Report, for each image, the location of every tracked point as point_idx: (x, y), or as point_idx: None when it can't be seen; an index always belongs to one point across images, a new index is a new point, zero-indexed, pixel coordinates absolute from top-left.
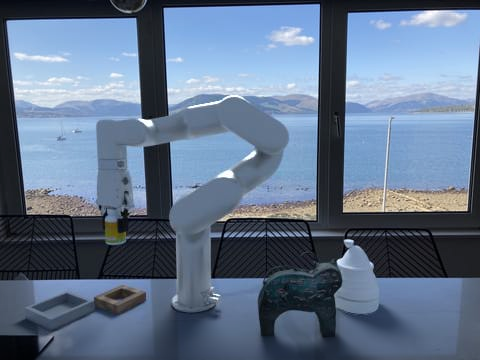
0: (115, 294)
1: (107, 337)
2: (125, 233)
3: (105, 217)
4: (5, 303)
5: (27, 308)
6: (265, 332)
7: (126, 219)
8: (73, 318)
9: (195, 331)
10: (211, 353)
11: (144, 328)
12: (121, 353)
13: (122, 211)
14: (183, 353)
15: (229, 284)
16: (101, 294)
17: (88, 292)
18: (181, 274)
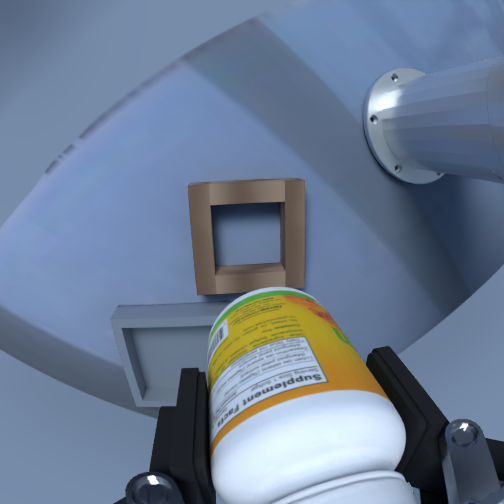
0: (212, 229)
1: (350, 340)
2: (343, 333)
3: (213, 501)
4: (45, 373)
5: (145, 406)
6: None
7: (444, 426)
8: None
9: (468, 230)
10: (500, 263)
11: (392, 280)
12: (402, 347)
13: (407, 485)
14: (474, 288)
15: (408, 3)
16: (199, 272)
17: (106, 245)
18: (471, 177)
